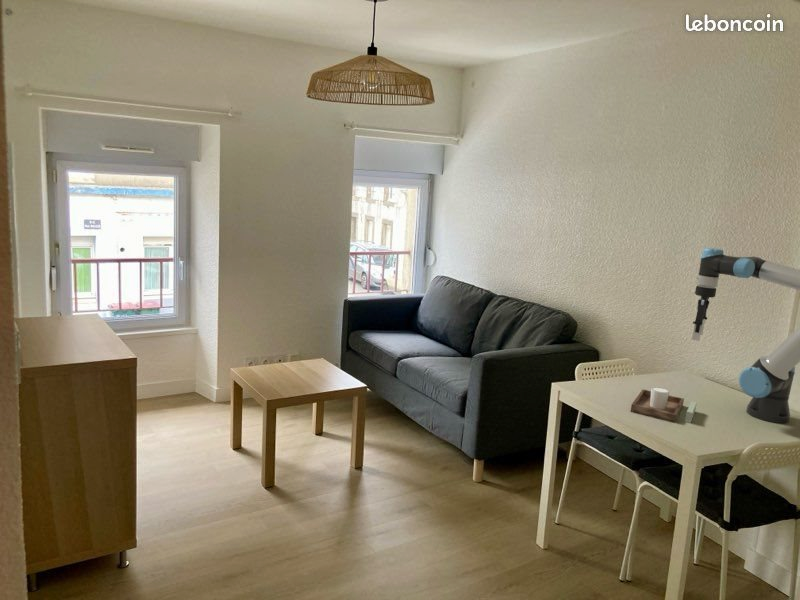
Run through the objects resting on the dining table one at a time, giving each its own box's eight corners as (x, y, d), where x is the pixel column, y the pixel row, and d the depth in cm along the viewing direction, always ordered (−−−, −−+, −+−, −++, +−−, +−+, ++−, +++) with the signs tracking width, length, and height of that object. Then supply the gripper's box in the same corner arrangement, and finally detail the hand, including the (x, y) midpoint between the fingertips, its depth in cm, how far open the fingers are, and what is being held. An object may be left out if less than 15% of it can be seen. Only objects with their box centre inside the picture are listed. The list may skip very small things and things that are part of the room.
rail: (695, 411, 254) (696, 401, 253) (690, 423, 240) (692, 412, 239) (689, 410, 255) (691, 400, 254) (684, 421, 241) (686, 411, 240)
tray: (682, 405, 260) (684, 398, 259) (674, 422, 239) (676, 414, 239) (641, 396, 267) (642, 389, 267) (630, 411, 247) (631, 404, 246)
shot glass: (668, 411, 249) (671, 393, 248) (649, 408, 250) (652, 391, 249) (664, 405, 256) (667, 388, 254) (646, 402, 257) (649, 385, 256)
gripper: (699, 281, 273) (690, 330, 277) (693, 288, 251) (684, 340, 255) (718, 284, 269) (709, 333, 273) (714, 291, 248) (704, 344, 251)
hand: (697, 337), depth 264 cm, fingers open, 13 cm apart
